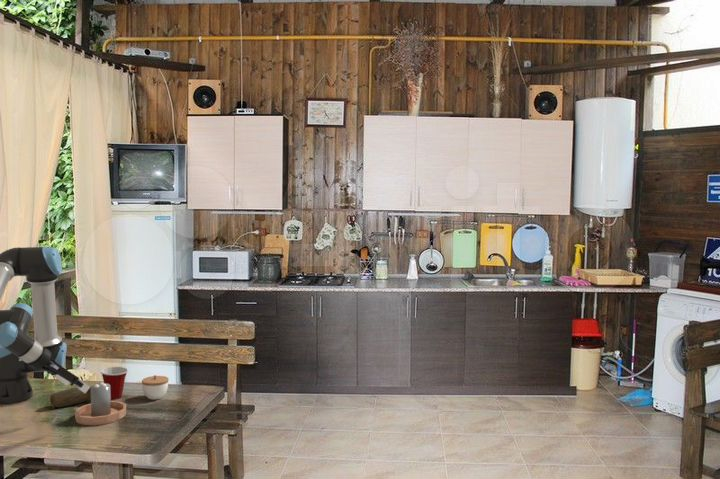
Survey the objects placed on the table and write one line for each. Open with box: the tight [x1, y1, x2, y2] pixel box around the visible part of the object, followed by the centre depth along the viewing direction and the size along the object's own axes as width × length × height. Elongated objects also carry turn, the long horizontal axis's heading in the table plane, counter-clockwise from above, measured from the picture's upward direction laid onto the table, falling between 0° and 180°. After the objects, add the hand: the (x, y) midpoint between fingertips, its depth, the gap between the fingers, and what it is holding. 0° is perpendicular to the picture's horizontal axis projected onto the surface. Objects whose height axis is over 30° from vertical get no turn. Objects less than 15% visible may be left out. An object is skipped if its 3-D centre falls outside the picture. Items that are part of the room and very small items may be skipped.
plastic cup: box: [100, 366, 129, 400], centre depth 252 cm, size 11×11×12 cm
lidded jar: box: [141, 374, 169, 401], centre depth 252 cm, size 11×11×9 cm
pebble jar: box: [90, 381, 112, 417], centre depth 229 cm, size 7×7×12 cm
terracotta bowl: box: [74, 400, 127, 426], centre depth 230 cm, size 18×18×3 cm
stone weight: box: [49, 387, 91, 408], centre depth 243 cm, size 15×7×7 cm, turn 135°
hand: (78, 386), depth 222 cm, fingers open, 13 cm apart
